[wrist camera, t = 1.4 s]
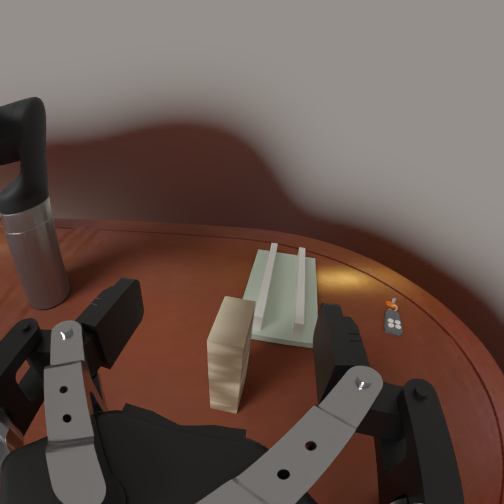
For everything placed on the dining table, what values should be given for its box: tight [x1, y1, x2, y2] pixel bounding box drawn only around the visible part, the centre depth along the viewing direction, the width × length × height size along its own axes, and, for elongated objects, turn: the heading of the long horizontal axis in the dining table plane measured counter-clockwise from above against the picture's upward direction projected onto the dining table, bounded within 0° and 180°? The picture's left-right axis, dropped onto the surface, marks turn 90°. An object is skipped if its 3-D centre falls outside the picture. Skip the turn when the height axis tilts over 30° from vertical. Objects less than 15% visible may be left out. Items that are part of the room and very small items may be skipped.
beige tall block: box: [207, 296, 256, 414], centre depth 27 cm, size 3×6×12 cm, turn 170°
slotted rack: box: [243, 243, 318, 348], centre depth 46 cm, size 24×12×4 cm, turn 170°
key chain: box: [384, 298, 403, 336], centre depth 44 cm, size 13×4×2 cm, turn 160°
